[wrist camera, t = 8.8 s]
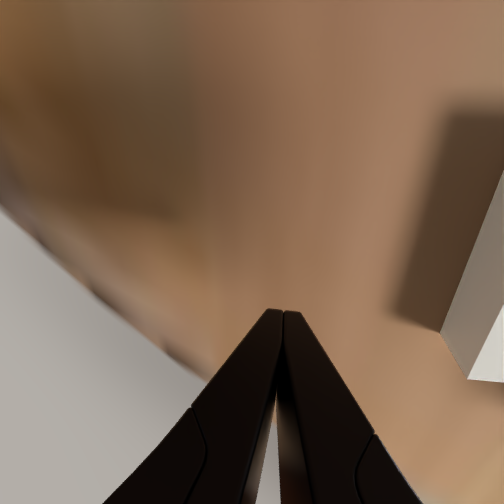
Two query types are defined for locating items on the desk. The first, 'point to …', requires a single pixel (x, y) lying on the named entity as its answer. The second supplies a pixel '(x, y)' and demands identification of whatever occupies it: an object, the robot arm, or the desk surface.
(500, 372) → the tile
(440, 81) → the desk surface
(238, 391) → the robot arm
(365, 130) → the desk surface
